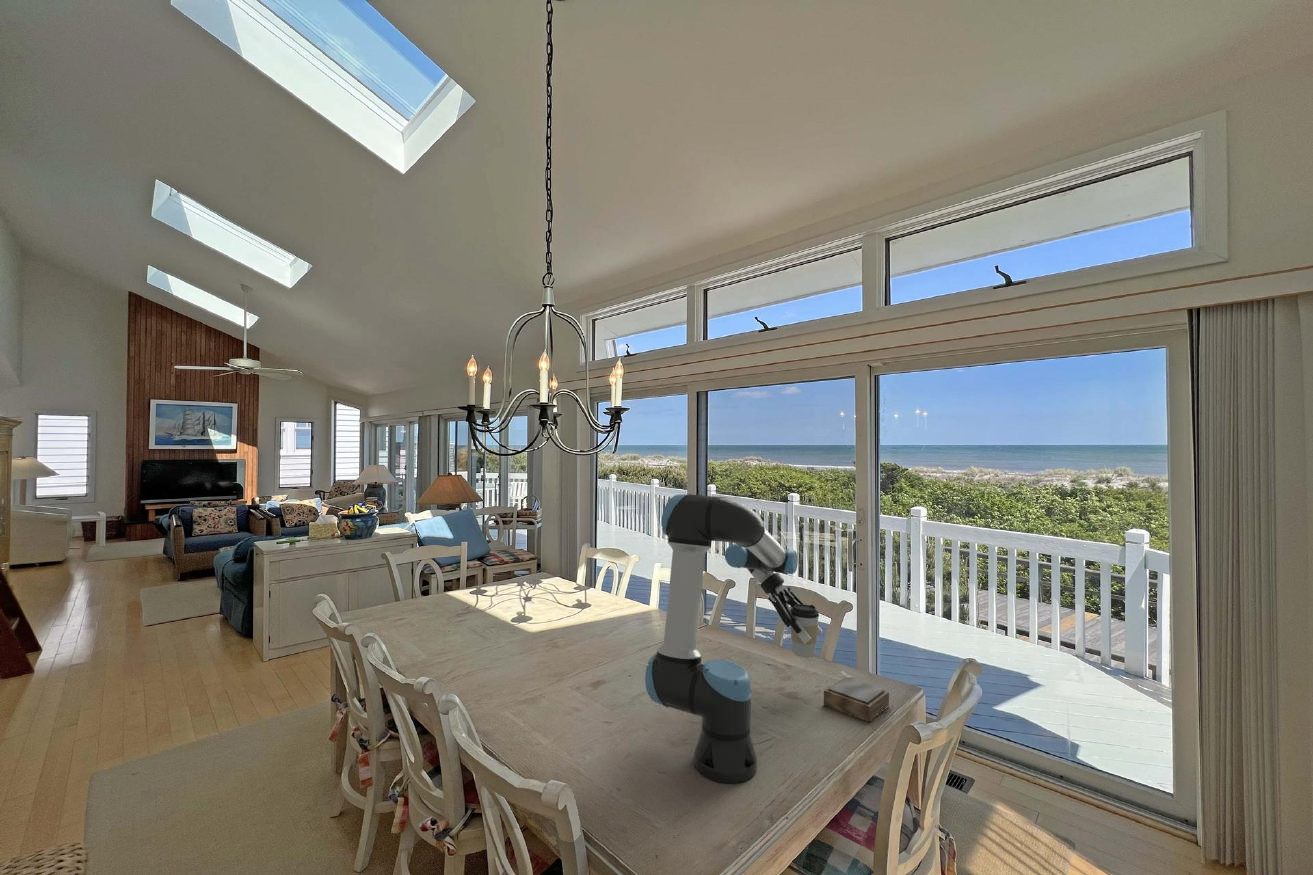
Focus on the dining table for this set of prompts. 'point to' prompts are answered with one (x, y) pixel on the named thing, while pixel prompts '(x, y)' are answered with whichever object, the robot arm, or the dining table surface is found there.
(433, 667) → the dining table surface
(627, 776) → the dining table surface
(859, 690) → the walnut block
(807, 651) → the coffee cup
